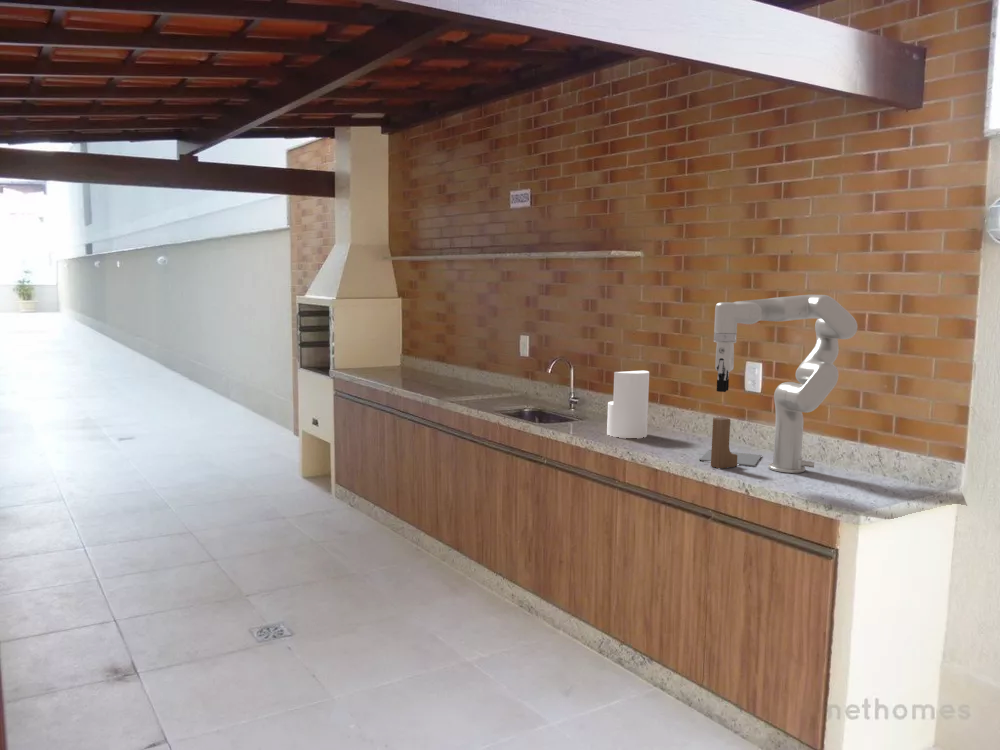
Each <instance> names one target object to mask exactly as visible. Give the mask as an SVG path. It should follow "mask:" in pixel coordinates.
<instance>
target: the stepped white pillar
mask: <svg viewBox="0 0 1000 750" xmlns="http://www.w3.org/2000/svg"><path fill="white" fill-rule="evenodd" d="M649 391H650V371H648V370H630V371H629V370H628V371H627V370H626V371H614V372H613V393H612V396H613V397H612V398H613V399H612V401H608V402H607V420H606V425H607V426H606V435H607V436H608V435H610V436H609V437H611V436H613V437H612V438H616V437H619V438H618V439H626V438H637V439H642V438H643V437H644V438H646V437H648V418H649V417H648V416H649V415H648V414H649ZM644 438H643V439H644Z"/></svg>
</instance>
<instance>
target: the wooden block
mask: <svg viewBox="0 0 1000 750" xmlns="http://www.w3.org/2000/svg"><path fill="white" fill-rule="evenodd" d="M730 434H731V419H730V418H728V417H721V416H720V417H713V419H712V433H711V450H712V451H711V462H710V467H711V466H712V467H711V468H714V467H716V468H715V469H718V468H723V469H728V468H727V467H731V468H736V467H735V466H738V465H737V455H736V454H732V453H731V452H732V451H731V450H730V437H731V436H730Z"/></svg>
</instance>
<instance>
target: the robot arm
mask: <svg viewBox="0 0 1000 750" xmlns="http://www.w3.org/2000/svg"><path fill="white" fill-rule="evenodd" d="M714 308H715V309H714V329H713V342H714V343H716V348H715V362H714V363H715V368H714V369H715V370H716V372H717V380H716V392H720V393H721V392H722V393H726V392H727V391H729V386H730V385H729V383H730V379H729V378H730V372H732V371H733V370H734V368H735V363H734V362H735V347H734V346H735V344H736V343H737V335H738V334H737V333H738V324H742V325H743V324H745V325H753V324H757V323H759V321H763V322H764V321H768V322H788V321H797V320H808V319H814V320H815V319H816V321H815V325H814V330H815V336H816V342H815V345H814V347H813V348H812V350H811V351H810V352H809V354H807V356H806V357H805V359H803V361H801V363H800V364H799V366H798V367H797V369H796V370H795V379H796V381H797V382H794V381H786V382H782V383H780V384H778V385H777V387H776V388H775V390H774V394H773V402H774V408H775V409H774V410H775V424H774V442H773V443H774V444H773V461H772V462H771V463H769V464H768V465H767V468H769V470H772V471H775V472H780V473H785V474H787V473H789V474H791V473H792V474H799V473H804V472H805V471H806V467H807V468H812V469H813V468H815V461H810V460H805V459H804V457H803V456H802V455H803V453H802V452H803V437H804V422H805V421H804V414H803V413H811V412H813V411H815V410H816V409H817V408H819V406H820V405H821V404H822V403H823V402H824V400H825V399H826V398H827V397H828V395H829V394H830V393H831V392H832V390H833V389H834V388H835V387H836V385H837V383H838V380H839V376H840V375H839V370H838V368H837V366H836V365H835V364H834V363H835V361H836V360H837V358H838V356H839V349H840V347H839V340H849V339H852V338H853V337H854V336H855V335H856V333H857V332H858V322H857V320H856V319H855V317H854V316H853V315H852V314H851V312H849V311H848V310H847V309H846V308H844V306H842V305H841V304H840V303H839V302H838V301H837V300H836V299H835V298H833V297H832V296H830V295H827V294H800V295H790V296H780V297H779V296H778V297H777V296H776V297H770V298H761V299H759V298H758V299H750V300H738V301H734V302H729V301H726V302H722V301H720V302H718V303H716V305H715V307H714Z"/></svg>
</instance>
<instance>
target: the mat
mask: <svg viewBox="0 0 1000 750" xmlns="http://www.w3.org/2000/svg"><path fill="white" fill-rule="evenodd" d="M711 451H712V449H709V450H708V451H706V452H705V453H704V454H703V455H702V456H701V457H700V458H699V459H698V461H699V460H701V461H700V462H704V461H711ZM730 452H731V453H732V454H736V455H737V464H739V465H738V466H741V465H747V466H746V467H751V466H754V467H753V468H755V467H756V465H758V463H759V461H760V460H761V459H762V457H763V456H762V454H755V453H745V452H744V453H743V452H737V451H736V452H735V451H730ZM761 456H762V457H761ZM759 459H760V460H759ZM757 462H758V463H757Z"/></svg>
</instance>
